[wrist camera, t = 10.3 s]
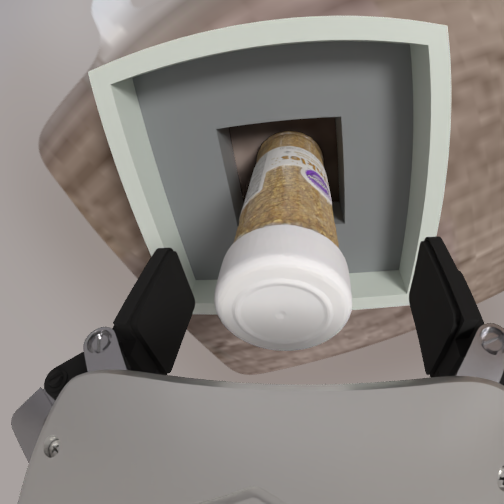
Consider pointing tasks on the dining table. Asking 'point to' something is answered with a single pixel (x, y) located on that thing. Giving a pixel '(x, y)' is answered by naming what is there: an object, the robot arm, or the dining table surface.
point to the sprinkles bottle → (285, 253)
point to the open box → (277, 109)
